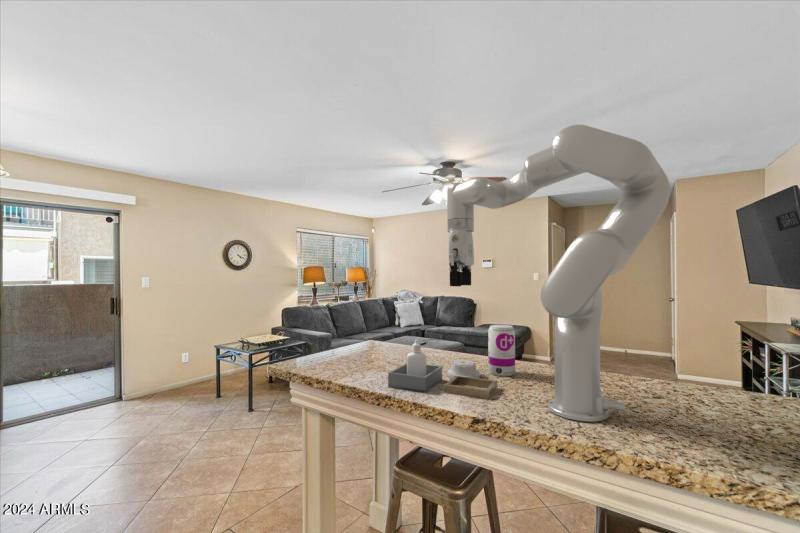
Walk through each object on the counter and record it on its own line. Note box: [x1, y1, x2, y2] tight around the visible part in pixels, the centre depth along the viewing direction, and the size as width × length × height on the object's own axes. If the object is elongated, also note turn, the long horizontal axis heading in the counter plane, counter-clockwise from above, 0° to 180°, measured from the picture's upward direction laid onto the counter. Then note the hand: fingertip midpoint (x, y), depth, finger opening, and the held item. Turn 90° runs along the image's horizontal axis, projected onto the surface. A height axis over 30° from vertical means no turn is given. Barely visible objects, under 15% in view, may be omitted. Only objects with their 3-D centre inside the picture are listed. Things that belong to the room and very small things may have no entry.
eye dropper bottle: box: [406, 339, 427, 377], centre depth 105 cm, size 4×6×12 cm
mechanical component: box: [446, 359, 481, 379], centre depth 113 cm, size 10×4×10 cm
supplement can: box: [487, 324, 516, 377], centre depth 116 cm, size 8×8×15 cm
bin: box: [387, 362, 443, 393], centre depth 105 cm, size 11×13×4 cm
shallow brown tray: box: [443, 376, 498, 400], centre depth 99 cm, size 12×10×2 cm
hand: (460, 285), depth 105 cm, fingers open, 9 cm apart
